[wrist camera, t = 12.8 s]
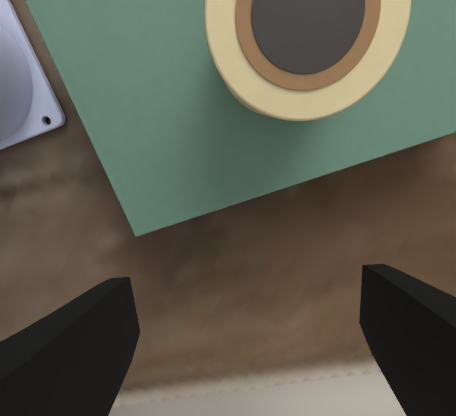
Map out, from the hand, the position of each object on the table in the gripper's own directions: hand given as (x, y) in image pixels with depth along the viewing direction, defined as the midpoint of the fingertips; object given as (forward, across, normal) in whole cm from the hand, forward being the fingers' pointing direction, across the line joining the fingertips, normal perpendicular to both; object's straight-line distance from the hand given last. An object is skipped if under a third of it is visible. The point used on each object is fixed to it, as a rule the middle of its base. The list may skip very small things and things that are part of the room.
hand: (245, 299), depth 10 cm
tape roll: (+5, -2, -8) cm, 10 cm away
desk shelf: (+10, -2, -8) cm, 13 cm away
